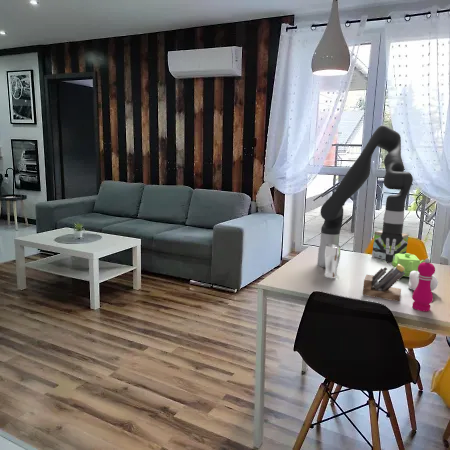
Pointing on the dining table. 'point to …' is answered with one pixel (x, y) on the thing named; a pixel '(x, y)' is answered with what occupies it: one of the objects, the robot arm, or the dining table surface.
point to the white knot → (415, 280)
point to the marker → (396, 270)
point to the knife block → (375, 290)
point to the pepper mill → (423, 287)
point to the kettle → (407, 262)
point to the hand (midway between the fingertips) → (388, 262)
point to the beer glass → (331, 260)
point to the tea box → (378, 252)
